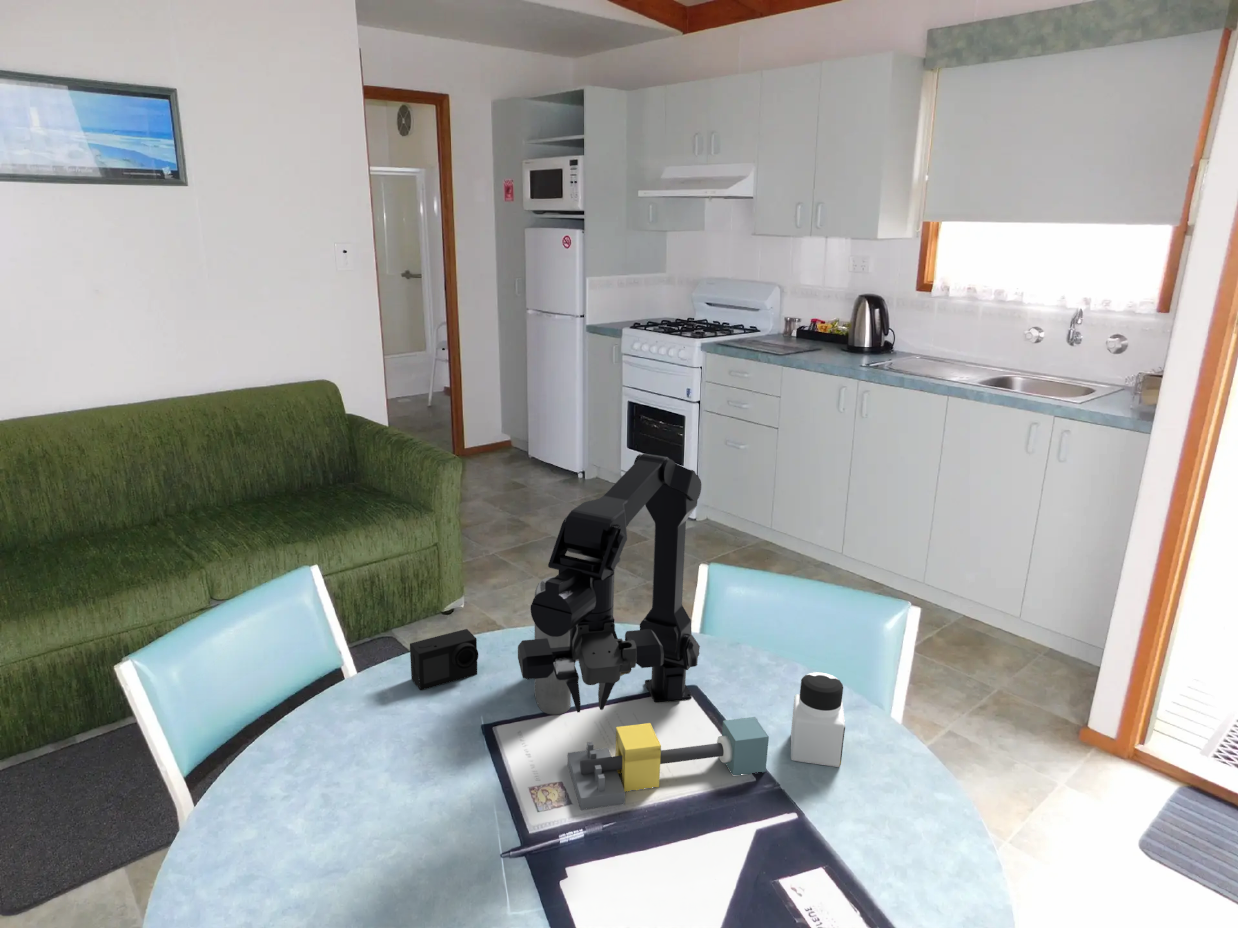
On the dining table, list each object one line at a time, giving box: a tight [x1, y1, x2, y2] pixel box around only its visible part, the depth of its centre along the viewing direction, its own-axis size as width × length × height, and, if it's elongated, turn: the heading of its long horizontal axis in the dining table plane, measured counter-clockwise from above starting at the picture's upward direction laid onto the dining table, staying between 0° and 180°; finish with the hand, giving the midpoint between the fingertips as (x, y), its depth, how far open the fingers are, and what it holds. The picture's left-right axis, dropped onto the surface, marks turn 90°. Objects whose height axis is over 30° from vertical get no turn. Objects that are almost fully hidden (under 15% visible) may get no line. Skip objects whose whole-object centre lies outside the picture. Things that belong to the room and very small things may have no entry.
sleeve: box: [614, 722, 662, 793], centre depth 115 cm, size 5×5×7 cm
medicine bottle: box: [790, 671, 846, 768], centre depth 122 cm, size 7×7×12 cm
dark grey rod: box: [580, 716, 770, 776], centre depth 116 cm, size 26×5×6 cm, turn 104°
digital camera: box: [409, 628, 479, 691], centre depth 139 cm, size 10×5×7 cm, turn 124°
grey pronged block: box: [567, 741, 626, 811], centre depth 114 cm, size 10×6×4 cm, turn 14°
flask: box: [534, 576, 572, 716], centre depth 135 cm, size 15×6×20 cm, turn 5°
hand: (589, 709), depth 111 cm, fingers open, 3 cm apart
